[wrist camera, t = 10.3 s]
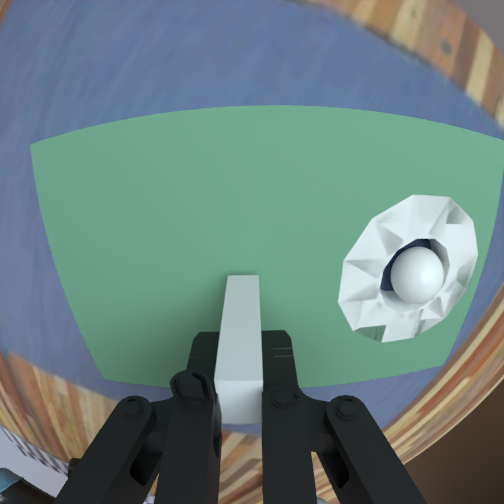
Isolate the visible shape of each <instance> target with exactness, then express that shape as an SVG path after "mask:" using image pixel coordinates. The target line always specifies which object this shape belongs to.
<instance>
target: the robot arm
mask: <svg viewBox="0 0 504 504" xmlns="http://www.w3.org/2000/svg"><path fill="white" fill-rule="evenodd" d="M169 384H170V387H171V390H172V392H173V395H174V397H172V398H170V399H167V400H163V401H157V402H151V403H150V402H149V401H148V400H147V399H145V398H144V397H141V396H129V397H126V398H124V399H122V400H121V401H120V402H119V403H118V404H117V406H116V407H115V409H114V410H113V412H112V413H111V415H110V416H109V418H108V419H107V421H106V422H105V424H104V425H103V426H102V428H101V429H100V431H99V432H98V434H97V435H96V437H95V438H94V440H93V441H92V443H91V444H90V446H89V447H88V449H87V450H86V452H85V454H84V455H83V457H82V458H81V460H79V459H71V460H70V463H69V465H68V480H67V481H66V483H65V484H64V486H63V488H62V489H61V491H60V492H59V494H58V495H57V497H56V498H55V497H53V496H51V495H49V494H48V493H46V492H44V491H42V490H41V489H39V488H37V487H36V486H34V485H32V484H31V483H29V482H28V481H26V480H25V479H24V478H23V477H20V476H18V475H17V474H15V473H13V472H12V471H10V470H9V469H7V468H0V504H143V503H144V501H145V499H146V497H147V495H148V493H149V491H150V489H151V487H152V485H153V483H154V481H155V479H156V477H157V475H158V473H159V477H158V482H157V488H156V493H155V499H154V504H218V493H219V476H220V461H221V446H222V433H221V420H222V424H262V464H263V504H317V496H316V488H315V479H314V472H313V464H312V456H311V451H313V452H316V453H317V455H318V458H319V460H320V462H321V464H322V466H323V468H324V470H325V473H326V475H327V477H328V479H329V481H330V483H331V485H332V487H333V489H334V492H335V494H336V496H337V498H338V500H339V502H340V504H427V503H426V501H425V499H424V498H423V496H422V495H421V493H420V491H419V490H418V488H417V487H416V485H415V483H414V482H413V480H412V479H411V477H410V475H409V474H408V472H407V471H406V469H405V468H404V466H403V464H402V463H401V461H400V459H399V458H398V456H397V455H396V453H395V452H394V450H393V448H392V447H391V445H390V444H389V442H388V441H387V439H386V437H385V436H384V434H383V433H382V431H381V430H380V428H379V426H378V425H377V423H376V422H375V420H374V419H373V417H372V415H371V414H370V412H369V411H368V409H367V408H366V406H365V405H364V403H363V402H362V401H361V400H360V399H358V398H356V397H354V396H348V395H343V396H338V397H336V398H334V399H332V400H331V401H330V402H326V401H320V400H316V399H312V398H310V397H308V396H306V395H305V394H304V393H303V392H302V391H301V389H300V388H299V385H298V379H297V373H296V366H295V360H294V354H293V348H292V341H291V337H290V336H289V335H288V333H287V332H286V331H285V330H266V331H261V319H260V295H259V275H229V276H228V278H227V285H226V292H225V300H224V307H223V314H222V322H221V329H220V332H199V333H198V334H197V335H196V337H195V338H194V339H193V342H192V346H191V351H190V355H189V359H188V363H187V368H186V370H183V371H181V372H178V373H177V374H175V375H174V376H173V377H172V379H171V380H170V382H169Z"/></svg>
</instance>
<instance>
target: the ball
mask: <svg viewBox="0 0 504 504" xmlns="http://www.w3.org/2000/svg"><path fill="white" fill-rule="evenodd" d="M443 279H444V270H443V266H442V263H441V261H440V259H439V258H438V256H437V255H436V254H435V253H434V252H433V251H431V250H430V249H427V248H425V247H411V248H408V249H406V250H404V251H403V252H402V253H400V254H399V255H398V257H397V258H396V259H395V261H394V263H393V266H392V269H391V283H392V286H393V289H394V291H395V292H396V294H397V295H398V296H399V297H400V298H401V299H402V300H404V301H406V302H408V303H411V304H422V303H425V302H428V301H430V300H431V299H432V298H434V297H435V296H436V295H437V293H438V292H439V290H440V289H441V286H442V283H443Z"/></svg>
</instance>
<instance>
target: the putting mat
mask: <svg viewBox="0 0 504 504" xmlns="http://www.w3.org/2000/svg"><path fill="white" fill-rule="evenodd" d="M30 149H31V157H32V165H33V172H34V178H35V184H36V190H37V195H38V200H39V205H40V210H41V214H42V219H43V223H44V227H45V231H46V235H47V239H48V242H49V246H50V250H51V253H52V256H53V260H54V263H55V266H56V269H57V272H58V275H59V278H60V281H61V284H62V287H63V290H64V293H65V295H66V298H67V301H68V303H69V306H70V308H71V311H72V313H73V316H74V318H75V321H76V323H77V325H78V328H79V330H80V332H81V334H82V337H83V339H84V341H85V343H86V345H87V348H88V350H89V352H90V354H91V356H92V358H93V360H94V362H95V364H96V366H97V368H98V370H99V372H100V374H101V375H102V377H103V379H104V380H109V381H116V382H123V383H130V384H138V385H147V386H157V387H168V388H171V387H170V384H169V382H170V380H171V379H172V377H173V376H174V375H175V374H177V373H178V372H181V371H183V370H186V368H187V363H188V359H189V355H190V351H191V346H192V342H193V339H194V338H195V337H196V335H197V334H198V333H199V332H220V329H221V322H222V314H223V307H224V300H225V292H226V285H227V278H228V276H229V275H259V295H260V319H261V331H266V330H285V331H286V332H287V333H288V335H289V336H290V337H291V341H292V348H293V354H294V360H295V366H296V373H297V379H298V385H299V388H308V387H319V386H329V385H338V384H346V383H353V382H361V381H367V380H373V379H379V378H385V377H391V376H396V375H401V374H406V373H411V372H415V371H420V370H424V369H428V368H432V367H436V366H440V365H443V364H444V363H445V361H446V359H447V357H448V355H449V353H450V351H451V348H452V346H453V344H454V342H455V340H456V338H457V336H458V333H459V331H460V329H461V327H462V324H463V322H464V319H465V317H466V315H467V312H468V310H469V307H470V304H471V302H472V299H473V296H474V294H475V291H476V288H477V285H478V282H479V279H480V276H481V273H482V270H483V266H484V263H485V259H486V256H487V252H488V249H489V245H490V241H491V237H492V233H493V228H494V224H495V219H496V214H497V209H498V203H499V197H500V191H501V184H502V177H503V168H504V141H503V140H500V139H497V138H494V137H491V136H488V135H484V134H481V133H478V132H474V131H470V130H467V129H463V128H459V127H455V126H451V125H447V124H443V123H438V122H433V121H429V120H424V119H419V118H413V117H408V116H402V115H395V114H389V113H382V112H374V111H366V110H357V109H346V108H334V107H318V106H288V105H263V106H233V107H217V108H204V109H194V110H184V111H176V112H168V113H161V114H154V115H148V116H142V117H136V118H130V119H125V120H120V121H115V122H110V123H105V124H101V125H97V126H92V127H88V128H84V129H80V130H76V131H73V132H69V133H65V134H62V135H58V136H55V137H52V138H48V139H45V140H42V141H39V142H36V143H33V144H30ZM415 239H429V242H430V246H431V251H433V252H434V253H435V254H436V255H437V256H438V258H439V259H440V261H441V263H442V266H443V270H444V279H443V283H442V286H441V289H440V290H439V292H438V293H437V295H436V296H435V297H434V298H432V299H431V300H430V301H428V302H425V303H422V304H411V303H408V302H406V301H404V300H402V299H401V298H400V297H399V296H398V295H397V294H396V292H395V291H384V290H382V289H380V285H381V280H382V275H383V270H384V268H385V267H386V266H387V264H388V263H389V261H390V260H391V259H392V257H393V256H394V254H395V253H396V252H397V250H399V249H400V248H402V247H404V246H405V245H407V244H409V243H410V242H412V241H414V240H415Z"/></svg>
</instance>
